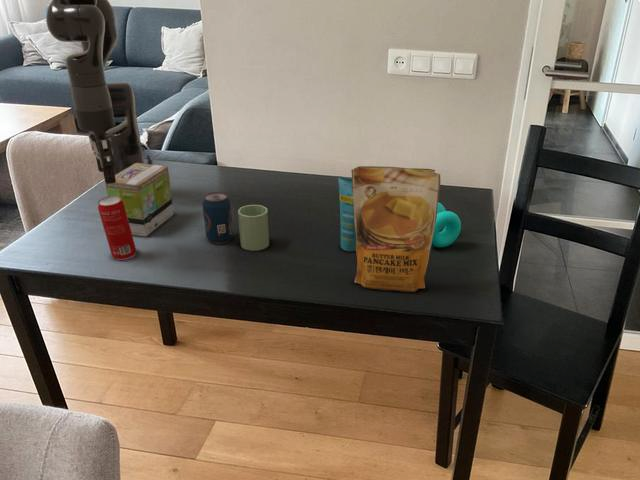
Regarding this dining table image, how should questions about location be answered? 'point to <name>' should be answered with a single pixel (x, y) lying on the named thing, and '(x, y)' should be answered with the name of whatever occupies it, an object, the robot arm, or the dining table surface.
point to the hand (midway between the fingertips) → (107, 176)
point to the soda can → (217, 217)
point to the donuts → (450, 228)
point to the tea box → (144, 196)
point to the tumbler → (253, 227)
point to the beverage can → (116, 227)
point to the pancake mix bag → (394, 225)
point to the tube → (347, 214)
